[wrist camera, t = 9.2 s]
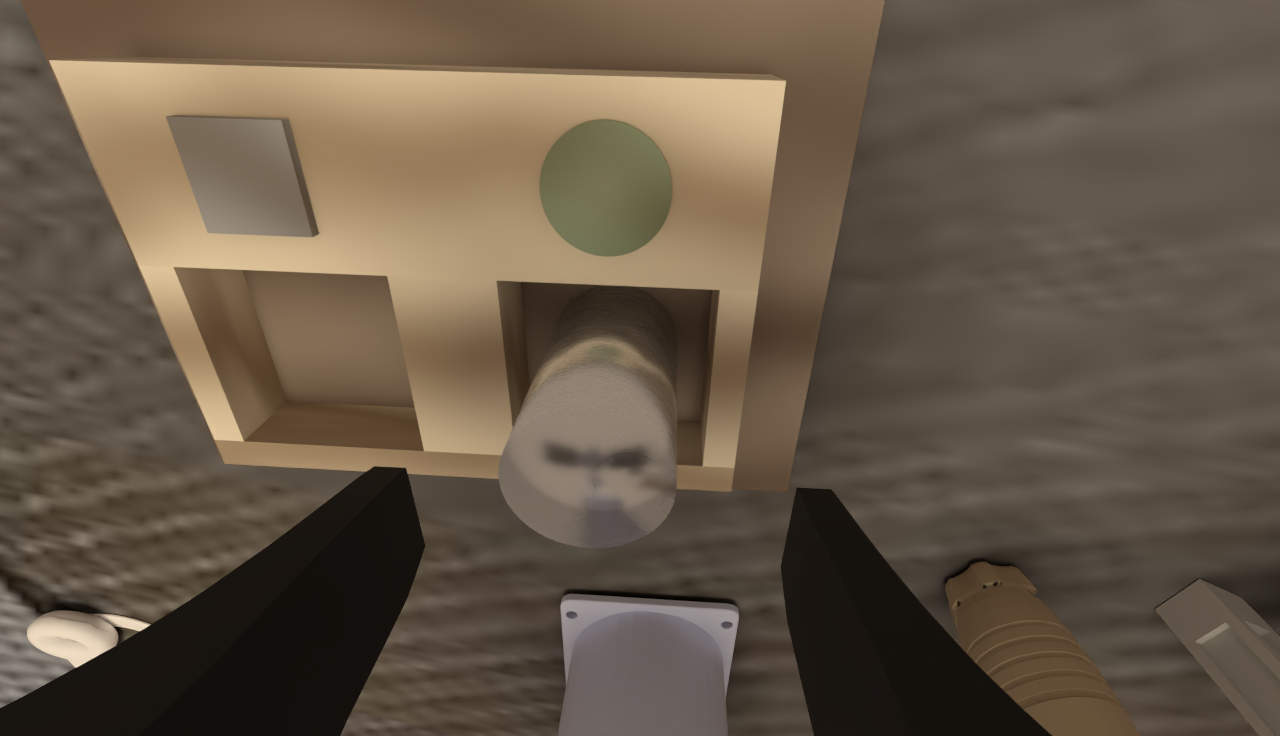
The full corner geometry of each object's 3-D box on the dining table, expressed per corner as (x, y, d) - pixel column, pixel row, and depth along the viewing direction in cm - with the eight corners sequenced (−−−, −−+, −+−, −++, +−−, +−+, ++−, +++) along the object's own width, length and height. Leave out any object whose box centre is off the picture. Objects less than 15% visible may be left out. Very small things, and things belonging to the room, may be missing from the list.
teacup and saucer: (33, 588, 29) (-56, 664, 26) (187, 602, 29) (119, 681, 25) (103, 689, 34) (36, 765, 30) (237, 702, 33) (185, 780, 30)
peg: (673, 395, 20) (672, 553, 14) (558, 389, 20) (507, 543, 14) (680, 287, 18) (681, 415, 12) (552, 281, 18) (489, 406, 12)
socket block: (784, 481, 22) (800, 547, 19) (232, 450, 23) (169, 509, 20) (880, -15, 14) (931, -28, 11) (27, -34, 15) (-125, -50, 12)
